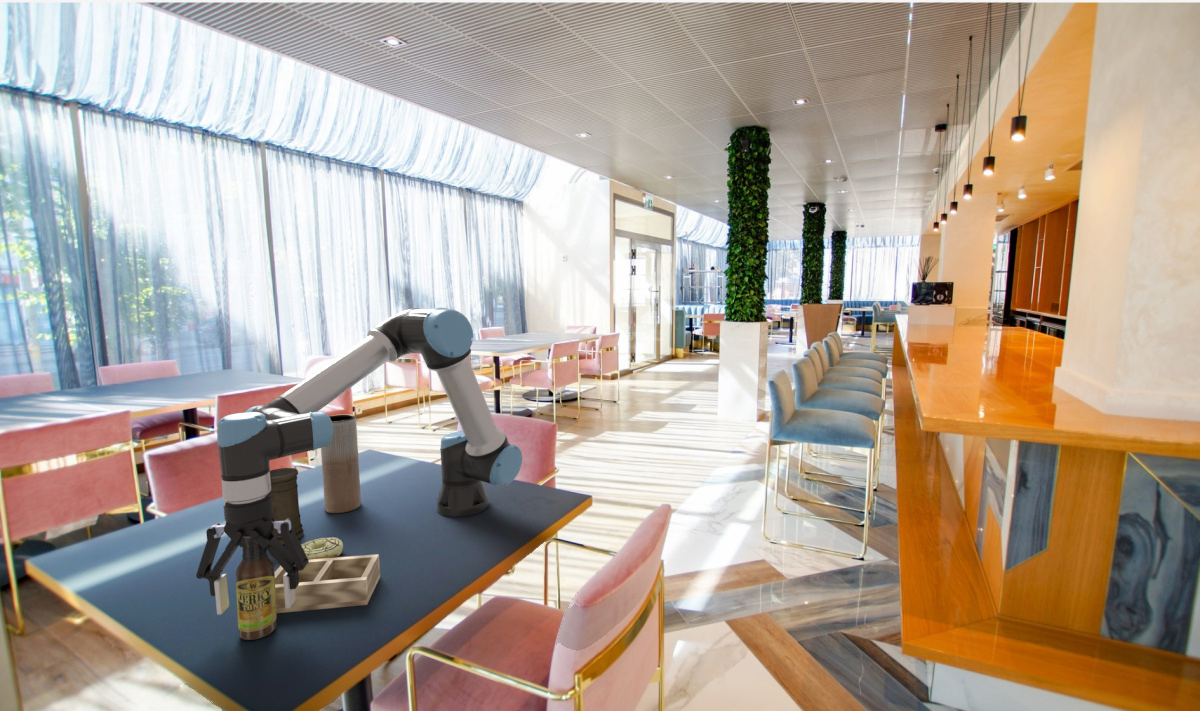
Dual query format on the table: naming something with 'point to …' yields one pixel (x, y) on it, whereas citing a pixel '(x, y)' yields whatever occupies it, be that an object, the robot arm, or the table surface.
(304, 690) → the table surface
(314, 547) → the decorated donut
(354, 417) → the vase
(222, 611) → the robot arm
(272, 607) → the sauce bottle
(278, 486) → the container
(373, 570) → the caddy
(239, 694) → the table surface
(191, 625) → the table surface
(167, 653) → the table surface
